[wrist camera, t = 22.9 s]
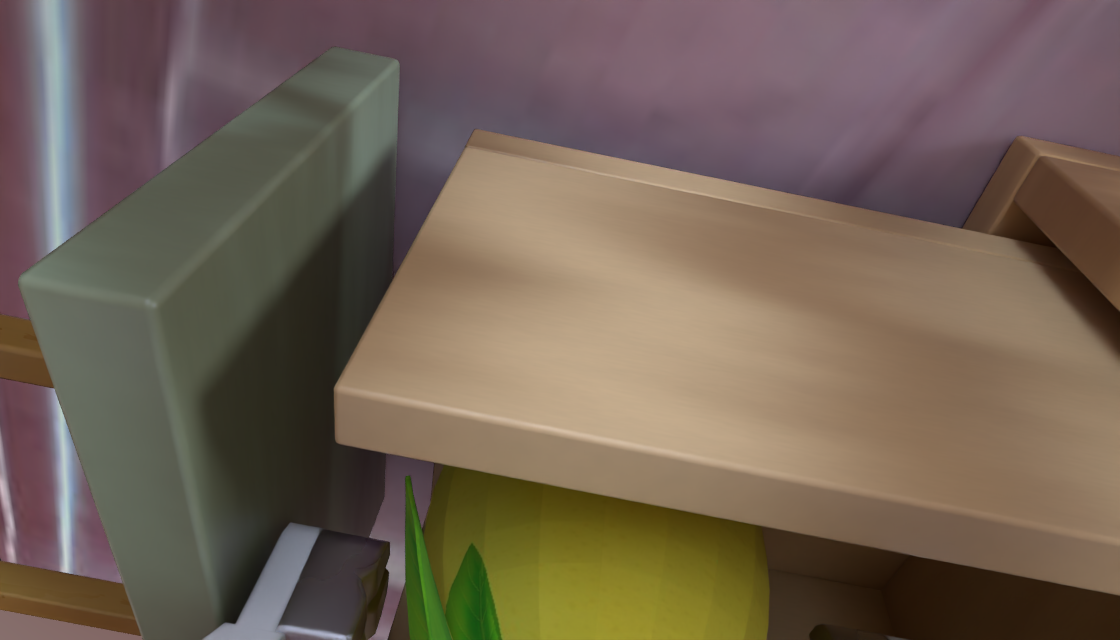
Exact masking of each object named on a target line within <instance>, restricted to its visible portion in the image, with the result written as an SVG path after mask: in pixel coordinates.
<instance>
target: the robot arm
mask: <svg viewBox="0 0 1120 640" xmlns="http://www.w3.org/2000/svg"><path fill="white" fill-rule="evenodd" d="M389 556H390V542H388V541H383V540H377V539H372V538H367V537H362V536H357V535H352V534H347V533H342V532H336V531H331V530H326V529H324V528H319V527H313V526H308V525H302V524H297V523H292V522H290V523H289V525H288V526H287V527H286V528H285V529H284V531H283V532H282V533H281V535H280V537H279V539H278V541H277V543H276V545H275V547H274V549H273V551H272V553H271V555H270V557H269V559H268V561H267V563H266V565H265V567H264V568H263V570H262V572H261V574H260V576H259V578H258V580H257V582H256V584H255V586H254V588H253V590H252V592H251V594H250V596H249V598H248V600H247V602H246V604H245V606H244V608H243V610H242V612H241V614H240V616H239V618H238V620H237V622H236V624H233V623H226V622H225V623H224V624H222V625H221V626H220V627H218V628H217V629H215V630H214V631H213V632H211V633H210V634H209V635H207V636H206V637H204V638H203V639H202V640H368V639H369V638H370V637H372V636H373V635H374V634H375V633H376V630H377V627H378V623H379V620H380V617H381V614H382V610H383V606H384V602H385V598H386V593H387V587H388V579H389V572H388V570H387V569H386V565H387V562H388V559H389ZM809 637H810V640H910V639H904V638H898V637H893V636H887V635H883V634H881V633H875V632H869V631H863V630H857V629H851V628H846V627H840V626H834V625H828V624H820V625H816V626H815V627H814V628H813V630H812V631H811V632H810V634H809Z"/></svg>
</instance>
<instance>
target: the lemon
mask: <svg viewBox="0 0 1120 640" xmlns="http://www.w3.org/2000/svg"><path fill="white" fill-rule="evenodd" d="M405 487H406V517H405V570H406V595H407V609H408V623H409V636H410V640H767V632H768V622H769V594H770V588H769V576H768V565H767V555H766V550H765V544H764V538H763V532H762V527H761V526H758V525H752V524H747V523H742V522H737V521H732V520H727V519H721V518H716V517H711V516H706V515H701V514H696V513H691V512H685V511H680V510H675V509H670V508H665V507H660V506H654V505H649V504H644V503H639V502H634V501H629V500H624V499H618V498H613V497H608V496H603V495H598V494H593V493H588V492H582V491H577V490H572V489H567V488H562V487H557V486H551V485H546V484H541V483H536V482H531V481H526V480H521V479H515V478H510V477H505V476H500V475H495V474H490V473H484V472H479V471H474V470H469V469H464V468H459V467H454V466H448V465H444V467H443V469H442V471H441V474H440V476H439V478H438V481H437V483H436V485H435V488H434V491H433V495H432V499H431V503H430V507H429V511H428V515H427V520H426V526H425V532H424V537H423V533H422V528H421V524H420V520H419V516H418V512H417V508H416V504H415V500H414V495H413V490H412V483H411V477H410V476H406V478H405Z"/></svg>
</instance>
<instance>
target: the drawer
mask: <svg viewBox="0 0 1120 640" xmlns="http://www.w3.org/2000/svg"><path fill="white" fill-rule="evenodd" d="M399 72H400V65H399V62H398V61H397V60H396V59H393V58H388V57H383V56H378V55H374V54H369V53H364V52H359V51H354V50H349V49H345V48H340V47H331V48H330V49H328V50H327V51H326V52H324V53H323V54H322V55H320V56H319V57H317V58H316V59H315V60H313V61H312V62H311V63H309V64H308V65H307V66H305V67H304V68H302V69H301V70H300V71H298V72H297V73H296V74H294V75H293V76H291V77H290V78H289V79H287V80H286V81H285V82H283V83H282V84H281V85H279V86H278V87H276V88H275V89H274V90H272V91H271V92H270V93H268V94H267V95H265V96H264V97H263V98H261V99H260V100H259V101H257V102H256V103H255V104H253V105H252V106H250V107H249V108H248V109H246V110H245V111H244V112H242V113H241V114H240V115H238V116H237V117H235V118H234V119H233V120H231V121H230V122H229V123H227V124H226V125H224V126H223V127H222V128H220V129H219V130H218V131H216V132H215V133H214V134H212V135H211V136H209V137H208V138H207V139H205V140H204V141H203V142H201V143H200V144H198V145H197V146H196V147H194V148H193V149H192V150H190V151H189V152H188V153H186V154H185V155H183V156H182V157H181V158H179V159H178V160H177V161H175V162H174V163H172V164H171V165H170V166H168V167H167V168H166V169H164V170H163V171H162V172H160V173H159V174H157V175H156V176H155V177H153V178H152V179H151V180H149V181H148V182H146V183H145V184H144V185H142V186H141V187H140V188H138V189H137V190H136V191H134V192H133V193H131V194H130V195H129V196H127V197H126V198H125V199H123V200H122V201H120V202H119V203H118V204H116V205H115V206H114V207H112V208H111V209H110V210H108V211H107V212H105V213H104V214H103V215H101V216H100V217H99V218H97V219H96V220H94V221H93V222H92V223H90V224H89V225H88V226H86V227H85V228H84V229H82V230H81V231H79V232H78V233H77V234H75V235H74V236H73V237H71V238H70V239H68V240H67V241H66V242H64V243H63V244H62V245H60V246H59V247H58V248H56V249H55V250H53V251H52V252H51V253H49V254H48V255H47V256H45V257H44V258H42V259H41V260H40V261H38V262H37V263H36V264H34V265H33V266H32V267H30V268H29V269H27V270H26V271H25V272H23V273H22V274H21V276H20V278H19V281H18V286H19V289H20V292H21V295H22V298H23V301H24V303H25V306H26V309H27V312H28V315H29V318H30V320H28V319H23V318H18V317H13V316H8V315H3V314H0V378H3V379H8V380H13V381H18V382H23V383H29V384H34V385H39V386H44V387H49V388H54V389H55V392H56V394H57V397H58V400H59V403H60V406H61V409H62V411H63V414H64V417H65V420H66V423H67V426H68V429H69V431H70V434H71V437H72V440H73V443H74V446H75V448H76V451H77V454H78V457H79V460H80V463H81V465H82V468H83V471H84V474H85V477H86V480H87V483H88V485H89V488H90V491H91V494H92V497H93V500H94V502H95V505H96V508H97V511H98V514H99V517H100V520H101V522H102V525H103V528H104V531H105V534H106V537H107V539H108V542H109V545H110V548H111V551H112V554H113V556H114V559H115V562H116V565H117V568H118V571H119V574H120V576H121V579H122V582H123V584H122V583H116V582H111V581H106V580H100V579H95V578H90V577H84V576H79V575H74V574H69V573H63V572H58V571H53V570H47V569H42V568H37V567H31V566H26V565H21V564H15V563H10V562H5V561H2V560H1V558H0V610H5V611H10V612H16V613H21V614H26V615H31V616H37V617H42V618H48V619H53V620H59V621H64V622H69V623H74V624H80V625H86V626H90V627H96V628H101V629H107V630H112V631H117V632H123V633H128V634H133V635H139V636H142V639H143V640H202V639H203V638H204V637H206V636H207V635H209V634H210V633H211V632H213V631H214V630H215V629H217V628H218V627H220V626H221V625H222V624H224V623H225V622H226V623H233V624H236V622H237V620H238V618H239V616H240V614H241V612H242V610H243V608H244V606H245V604H246V602H247V600H248V598H249V596H250V594H251V592H252V590H253V588H254V586H255V584H256V582H257V580H258V578H259V576H260V574H261V572H262V570H263V568H264V567H265V565H266V563H267V561H268V559H269V557H270V555H271V553H272V551H273V549H274V547H275V545H276V543H277V541H278V539H279V537H280V535H281V533H282V532H283V531H284V529H285V528H286V527H287V526H288V525H289V523H290V522H292V523H297V524H302V525H308V526H313V527H319V528H324V529H326V530H331V531H336V532H342V533H347V534H352V535H357V536H362V537H367V538H369V536H370V534H371V531H372V529H373V526H374V523H375V521H376V518H377V515H378V513H379V510H380V508H381V505H382V502H383V500H384V497H385V469H386V453H387V454H392V455H397V456H402V457H407V458H412V459H418V460H423V461H428V462H433V463H434V471H433V481H432V491H431V499H432V495H433V491H434V488H435V485H436V483H437V481H438V478H439V476H440V474H441V471H442V469H443V467H444V465H448V466H454V467H459V468H464V469H469V470H474V471H479V472H484V473H490V474H495V475H500V476H505V477H510V478H515V479H521V480H526V481H531V482H536V483H541V484H546V485H551V486H557V487H562V488H567V489H572V490H577V491H582V492H588V493H593V494H598V495H603V496H608V497H613V498H618V499H624V500H629V501H634V502H639V503H644V504H649V505H654V506H660V507H665V508H670V509H675V510H680V511H685V512H691V513H696V514H701V515H706V516H711V517H716V518H721V519H727V520H732V521H737V522H742V523H747V524H752V525H758V526H761V527H762V532H763V538H764V544H765V550H766V555H767V565H768V576H769V588H770V594H769V622H768V632H767V640H810V637H809V634H810V632H811V631H812V630H813V628H814V627H815V626H816V625H820V624H828V625H834V626H840V627H846V628H851V629H857V630H863V631H869V632H875V633H881V634H883V635H887V636H893V637H898V638H904V639H910V640H1120V311H1119V310H1118V309H1117V308H1116V307H1115V306H1114V305H1113V304H1112V303H1111V302H1110V301H1109V300H1108V299H1107V298H1106V297H1105V296H1104V295H1103V294H1102V293H1101V292H1100V291H1099V290H1098V289H1097V288H1096V287H1095V286H1094V285H1093V284H1092V282H1091V281H1090V280H1089V279H1088V278H1087V277H1086V276H1085V275H1084V274H1083V273H1082V272H1081V271H1080V270H1079V269H1078V268H1077V267H1076V266H1075V265H1074V264H1073V263H1072V262H1071V261H1070V260H1069V259H1068V258H1067V257H1066V256H1065V255H1064V253H1063V252H1062V251H1061V250H1060V249H1058V248H1053V247H1048V246H1043V245H1038V244H1033V243H1029V242H1024V241H1019V240H1014V239H1009V238H1004V237H999V236H995V235H990V234H985V233H980V232H975V231H970V230H965V229H960V228H956V227H951V226H946V225H941V224H936V223H931V222H926V221H922V220H917V219H912V218H907V217H902V216H897V215H892V214H887V213H883V212H878V211H873V210H868V209H863V208H858V207H853V206H849V205H844V204H839V203H834V202H829V201H824V200H819V199H814V198H810V197H805V196H800V195H795V194H790V193H785V192H780V191H775V190H771V189H766V188H761V187H756V186H751V185H746V184H741V183H737V182H732V181H727V180H722V179H717V178H712V177H707V176H702V175H698V174H693V173H688V172H683V171H678V170H673V169H668V168H664V167H659V166H654V165H649V164H644V163H639V162H634V161H629V160H625V159H620V158H615V157H610V156H605V155H600V154H595V153H590V152H586V151H581V150H576V149H571V148H566V147H561V146H556V145H552V144H547V143H542V142H537V141H532V140H527V139H522V138H517V137H513V136H508V135H503V134H498V133H493V132H488V131H483V130H479V129H474V131H473V133H472V135H471V136H470V138H469V140H468V142H467V144H466V145H465V148H464V150H463V152H462V154H461V155H460V157H459V159H458V161H457V163H456V165H455V166H454V168H453V170H452V172H451V174H450V176H449V177H448V179H447V181H446V183H445V185H444V187H443V188H442V190H441V192H440V194H439V196H438V198H437V199H436V201H435V203H434V205H433V207H432V209H431V210H430V212H429V214H428V216H427V218H426V220H425V221H424V223H423V225H422V227H421V229H420V231H419V232H418V234H417V236H416V238H415V240H414V242H413V244H412V245H411V247H410V249H409V251H408V253H407V255H406V256H405V258H404V260H403V262H402V264H401V266H400V267H399V269H398V271H397V273H396V275H395V277H394V278H393V280H392V271H393V242H394V214H395V185H396V157H397V129H398V100H399ZM430 503H431V502H430ZM429 507H430V506H429ZM428 511H429V509H428ZM427 515H428V512H427ZM427 515H426V518H425V521H424V525H423V528H422V533H423V537H424V532H425V526H426V520H427ZM388 640H410V636H409V623H408V609H407V595H406V582H405V585H404V589H403V592H402V595H401V598H400V601H399V605H398V608H397V611H396V614H395V617H394V621H393V624H392V627H391V630H390V633H389V637H388Z"/></svg>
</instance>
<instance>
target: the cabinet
mask: <svg viewBox="0 0 1120 640" xmlns="http://www.w3.org/2000/svg"><path fill="white" fill-rule="evenodd" d="M962 229H965V230H970V231H975V232H980V233H985V234H990V235H995V236H999V237H1004V238H1009V239H1014V240H1019V241H1024V242H1029V243H1033V244H1038V245H1043V246H1048V247H1053V248H1058V249H1060V250H1061V251H1062V252H1063V253H1064V255H1065V256H1066V257H1067V258H1068V259H1069V260H1070V261H1071V262H1072V263H1073V264H1074V265H1075V266H1076V267H1077V268H1078V269H1079V270H1080V271H1081V272H1082V273H1083V274H1084V275H1085V276H1086V277H1087V278H1088V279H1089V280H1090V281H1091V282H1092V284H1093V285H1094V286H1095V287H1096V288H1097V289H1098V290H1099V291H1100V292H1101V293H1102V294H1103V295H1104V296H1105V297H1106V298H1107V299H1108V300H1109V301H1110V302H1111V303H1112V304H1113V305H1114V306H1115V307H1116V308H1117V309H1118V310H1119V311H1120V156H1115V155H1111V154H1106V153H1101V152H1096V151H1091V150H1087V149H1082V148H1077V147H1072V146H1067V145H1063V144H1058V143H1053V142H1048V141H1044V140H1039V139H1034V138H1029V137H1024V136H1017V137H1016V138H1015V139H1014V141H1013V143H1012V145H1011V146H1010V148H1009V150H1008V151H1007V153H1006V155H1005V156H1004V158H1003V160H1002V161H1001V163H1000V165H999V167H998V168H997V170H996V172H995V173H994V175H993V177H992V178H991V180H990V182H989V184H988V185H987V187H986V189H985V190H984V192H983V194H982V195H981V197H980V199H979V200H978V202H977V204H976V206H975V207H974V209H973V211H972V212H971V214H970V216H969V217H968V219H967V221H966V222H965V224H964V226H963V228H962Z"/></svg>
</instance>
